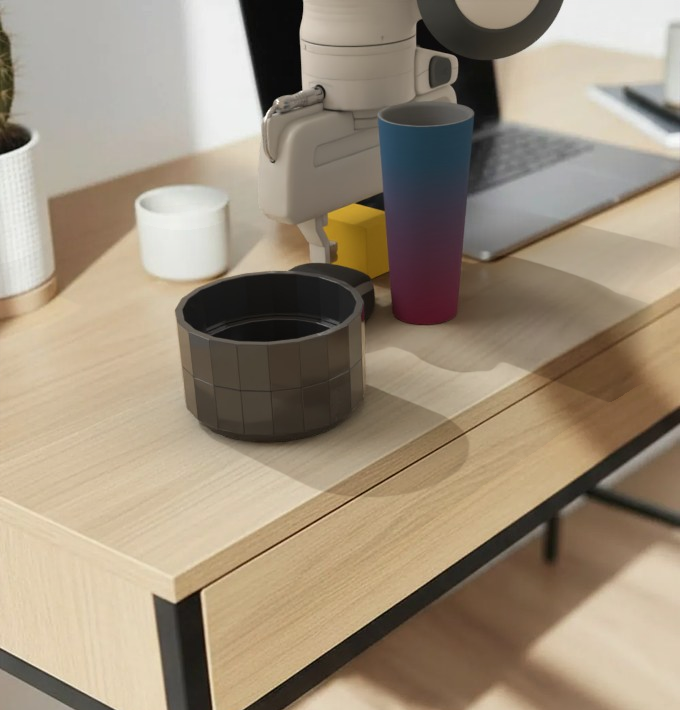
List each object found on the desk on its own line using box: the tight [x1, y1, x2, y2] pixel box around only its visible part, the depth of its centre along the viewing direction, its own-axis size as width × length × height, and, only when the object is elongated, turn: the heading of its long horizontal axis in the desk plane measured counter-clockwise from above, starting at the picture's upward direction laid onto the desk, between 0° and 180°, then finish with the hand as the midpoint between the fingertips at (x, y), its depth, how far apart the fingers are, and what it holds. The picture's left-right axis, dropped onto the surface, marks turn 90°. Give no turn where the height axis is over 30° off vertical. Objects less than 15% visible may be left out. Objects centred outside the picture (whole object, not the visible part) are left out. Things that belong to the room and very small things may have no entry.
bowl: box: [174, 270, 367, 443], centre depth 79 cm, size 12×12×7 cm
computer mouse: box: [287, 262, 376, 322], centre depth 90 cm, size 7×12×4 cm, turn 149°
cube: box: [323, 203, 389, 280], centre depth 100 cm, size 5×4×4 cm
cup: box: [378, 101, 475, 325], centre depth 89 cm, size 7×7×15 cm
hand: (363, 246), depth 100 cm, fingers open, 8 cm apart
